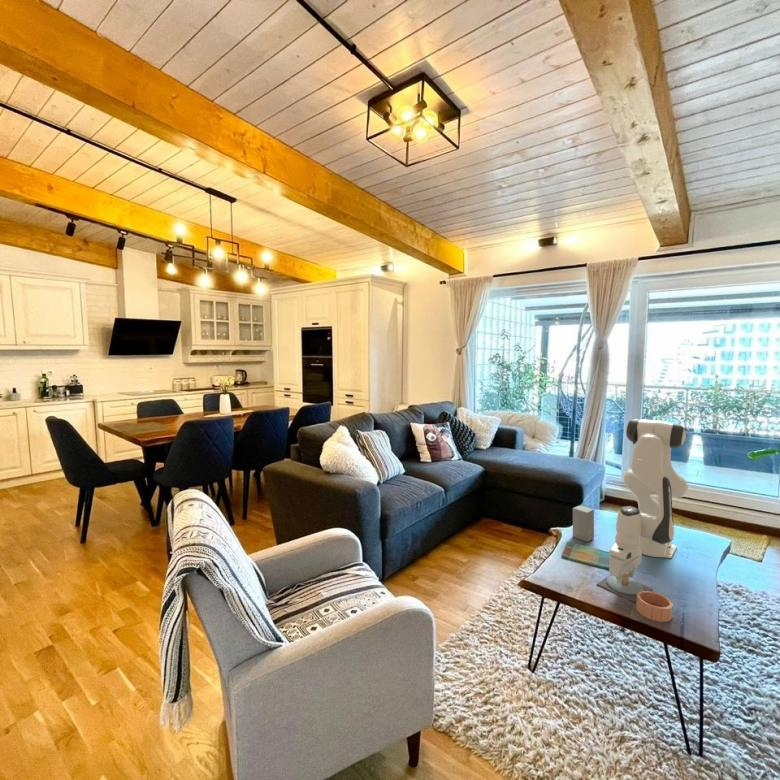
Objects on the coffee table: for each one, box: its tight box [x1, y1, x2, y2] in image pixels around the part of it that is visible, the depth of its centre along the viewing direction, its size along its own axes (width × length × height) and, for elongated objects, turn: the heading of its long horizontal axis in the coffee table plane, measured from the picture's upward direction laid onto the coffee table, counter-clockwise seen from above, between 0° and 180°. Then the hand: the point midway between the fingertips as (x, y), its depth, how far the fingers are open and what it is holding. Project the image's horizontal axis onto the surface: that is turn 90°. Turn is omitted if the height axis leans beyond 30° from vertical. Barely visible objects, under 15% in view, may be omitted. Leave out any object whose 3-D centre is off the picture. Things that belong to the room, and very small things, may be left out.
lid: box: [607, 572, 643, 595], centre depth 169 cm, size 13×13×5 cm
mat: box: [596, 574, 653, 604], centre depth 170 cm, size 15×15×1 cm
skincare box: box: [572, 505, 595, 543], centre depth 213 cm, size 8×7×16 cm
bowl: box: [635, 590, 674, 623], centre depth 154 cm, size 11×11×5 cm
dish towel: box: [561, 541, 611, 571], centre depth 194 cm, size 17×23×2 cm
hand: (625, 580), depth 169 cm, fingers open, 8 cm apart
